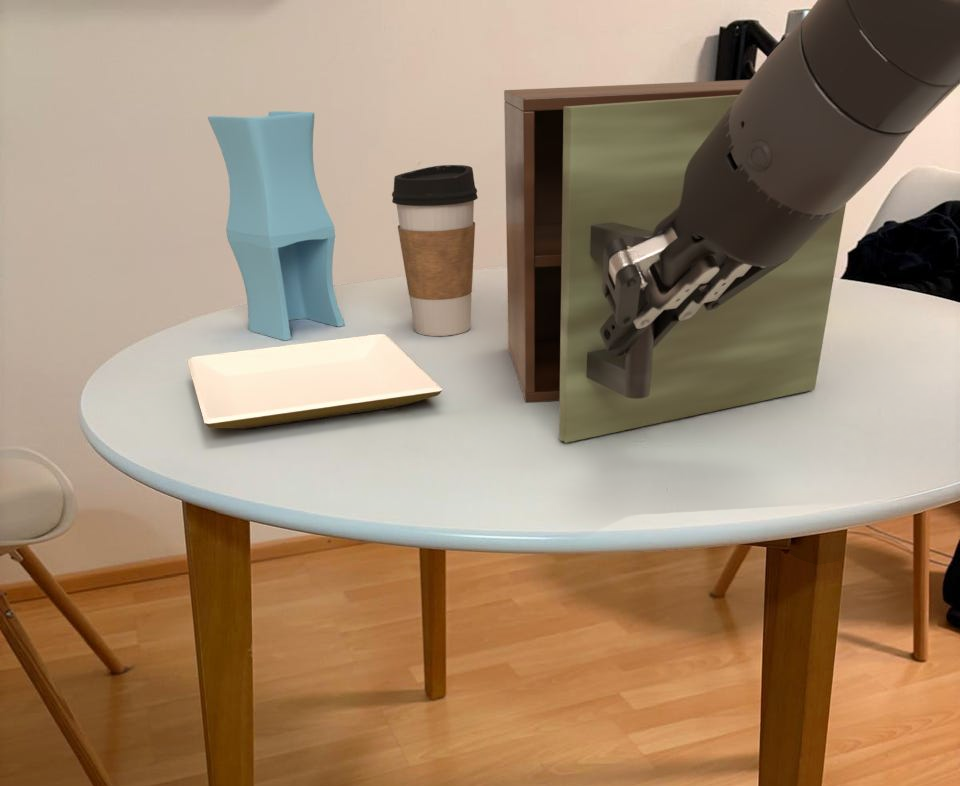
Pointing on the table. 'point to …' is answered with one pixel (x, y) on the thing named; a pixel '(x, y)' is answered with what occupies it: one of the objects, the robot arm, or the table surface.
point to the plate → (306, 381)
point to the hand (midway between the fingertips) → (624, 340)
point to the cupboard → (552, 215)
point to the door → (690, 343)
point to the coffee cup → (437, 245)
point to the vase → (278, 220)
